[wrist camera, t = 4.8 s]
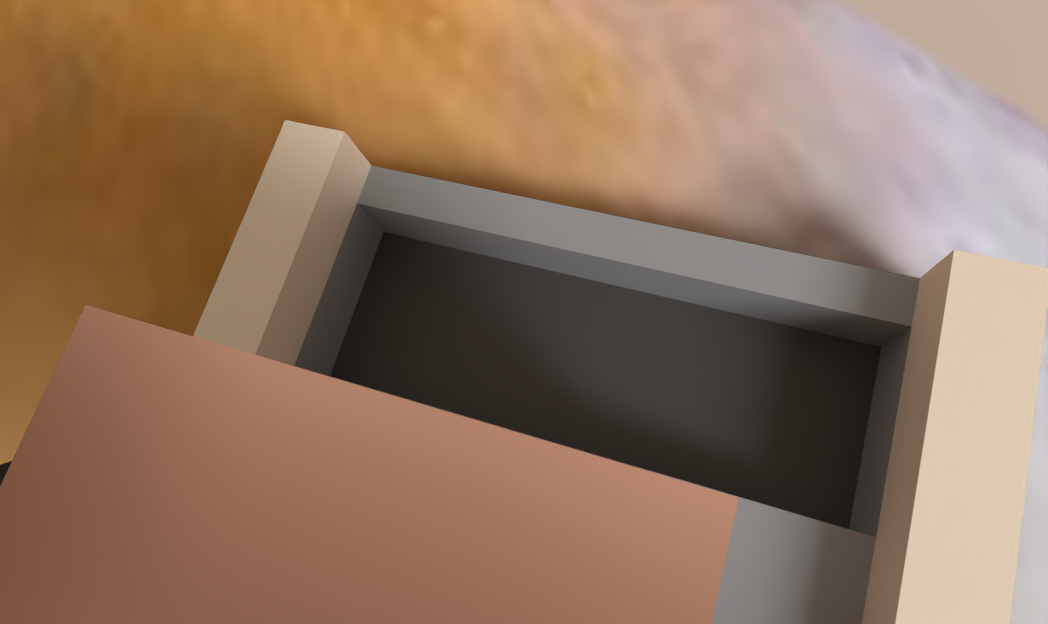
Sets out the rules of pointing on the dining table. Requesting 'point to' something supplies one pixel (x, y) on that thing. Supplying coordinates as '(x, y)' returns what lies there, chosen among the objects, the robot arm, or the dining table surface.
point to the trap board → (675, 370)
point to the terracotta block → (323, 504)
